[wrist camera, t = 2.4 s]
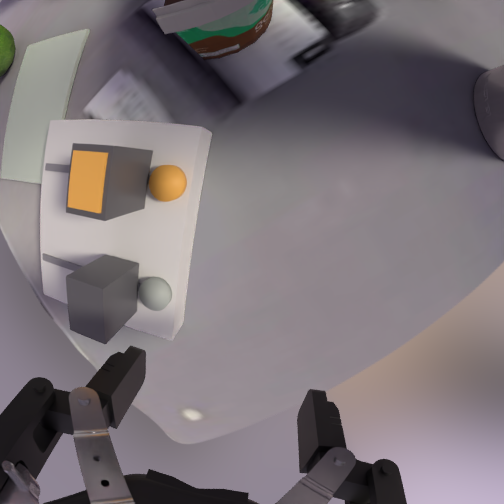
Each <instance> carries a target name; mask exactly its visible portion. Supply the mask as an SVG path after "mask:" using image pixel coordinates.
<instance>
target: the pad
mask: <svg viewBox="0 0 504 504" xmlns="http://www.w3.org/2000/svg"><path fill="white" fill-rule="evenodd" d="M89 32H90V30H89V29H84V30H79V31H75V32H71V33H67V34H63V35H60V36H56V37H53V38H49V39H46V40H43V41H40V42H37V43H34V44H31V45H28V47H27V50H26V52H25V55H24V58H23V61H22V64H21V68H20V71H19V74H18V78H17V81H16V85H15V89H14V93H13V97H12V101H11V106H10V111H9V116H8V121H7V126H6V132H5V139H4V146H3V154H2V164H1V176H0V178H2V179H9V180H16V181H24V182H31V183H37V184H42V175H43V166H44V157H45V149H46V143H47V136H48V130H49V125H50V120H65V115H66V111H67V106H68V102H69V97H70V93H71V89H72V85H73V82H74V78H75V75H76V71H77V68H78V64H79V61H80V58H81V55H82V52H83V49H84V46H85V43H86V40H87V38H88V35H89Z"/></svg>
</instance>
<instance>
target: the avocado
mask: <svg viewBox="0 0 504 504" xmlns="http://www.w3.org/2000/svg"><path fill="white" fill-rule="evenodd" d="M14 53H15V43H14V38H13V36H12V34H11V33H10V32H9V31H8V30H7V29H6V28H5V27H3V26H2V25H0V77H1V76H2V75H4V74H5V72H6V71H7V69H8V68H9V66H10V65H11V63H12V62H13V58H14Z"/></svg>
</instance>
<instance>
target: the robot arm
mask: <svg viewBox="0 0 504 504" xmlns="http://www.w3.org/2000/svg"><path fill="white" fill-rule="evenodd" d="M474 106H475V111H476V116H477V119H478V123H479V126H480V128H481V131H482V133H483V135H484V137H485V139H486V141H487V143H488V144H489V146H490V147H491V148H492V150H493V151H494V152H495V153H496V154H497V155H498V156H499V157H500V158H501V159H503V160H504V65H502V66H500V67H497V68H494V69H492V70H489V71H487V72H485V73H483V74H481V75H480V77H479V78H478V79H477V82H476V84H475V89H474ZM145 374H146V352H145V350H142V349H139V348H136V347H133V346H130V347H129V348H128V349H127V350H126V352H125V353H124V354H123V353H121V352H117V353H115V354H114V355H112V356H110V357H109V358H108V360H107V361H106V362H105V364H103V366H102V367H101V369H99V371H98V372H97V373H96V374H95V376H94V377H93V378H92V379H91V380H90V382H89V383H88V384H87V385H86V387H78V388H75V389H74V390H72V391H71V392H67V391H62V390H57V389H54V388H53V385H52V383H51V382H50V381H49V380H47V379H45V378H41V377H38V378H33V379H31V380H30V381H29V382H28V383H27V384H26V385H25V386H24V387H23V389H22V390H21V391H20V392H19V393H18V394H17V396H16V397H15V398H14V399H13V400H12V401H11V403H10V404H9V405H8V406H7V407H6V409H5V410H4V411H3V412H2V413H1V415H0V504H39V502H38V501H39V495H40V487H39V485H38V483H37V481H36V478H37V476H38V475H39V473H40V471H41V469H42V468H43V466H44V464H45V462H46V460H47V459H48V457H49V455H50V454H51V452H52V450H53V449H54V447H55V445H56V444H57V442H58V440H59V439H60V437H61V435H62V434H63V433H66V434H71V435H73V437H74V442H75V447H76V452H77V456H78V460H79V465H80V468H81V472H82V476H83V480H84V483H85V486H86V490H85V491H82V492H79V493H76V494H73V495H70V496H67V497H63V498H61V499H57V500H54V501H50V502H46V503H44V504H258V503H257V502H254V501H252V500H249V499H248V493H244V492H238V491H232V490H226V489H198V488H195V487H192V486H190V485H188V484H186V483H184V482H182V481H180V480H178V479H176V478H174V477H172V476H169V475H166V474H162V473H159V472H156V471H153V470H150V469H149V470H148V473H147V474H129V475H124V476H123V473H122V471H121V468H120V465H119V463H118V460H117V457H116V454H115V451H114V448H113V445H112V442H111V439H110V435H109V433H108V430H107V429H108V427H109V426H111V427H113V428H116V429H117V427H118V426H119V424H120V422H121V420H122V419H123V417H124V415H125V413H126V412H127V410H128V408H129V407H130V405H131V403H132V401H133V400H134V398H135V396H136V395H137V393H138V391H139V390H140V388H141V386H142V384H143V382H144V379H145ZM297 425H298V444H299V468H300V473H307V475H306V476H305V477H304V478H302V479H301V480H300V481H299V482H298V483H297V484H296V485H295V486H294V487H293V488H292V489H291V490H289V491H288V492H287V493H286V494H285V495H284V496H283V497H282V498H281V499H280V500H279V501H278V502H277V503H275V504H327V503H328V502H329V501H330V499H331V498H332V497H335V498H339V499H342V500H345V504H407V503H406V498H405V494H404V489H403V484H402V480H401V476H400V472H399V468H398V466H397V465H396V464H395V463H394V462H392V461H390V460H387V459H380V460H378V461H376V462H375V463H374V464H369V463H366V462H361V461H359V460H357V459H356V458H355V456H354V455H353V453H352V452H351V451H349V450H347V448H346V443H345V438H344V433H343V428H342V426H341V419H340V414H339V410H338V408H337V407H336V406H335V404H334V403H333V402H328V401H327V397H326V392H325V391H320V390H313V389H310V390H309V391H308V393H307V395H306V397H305V399H304V401H303V403H302V406H301V408H300V410H299V413H298V419H297Z"/></svg>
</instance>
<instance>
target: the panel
mask: <svg viewBox="0 0 504 504" xmlns="http://www.w3.org/2000/svg"><path fill="white" fill-rule="evenodd" d="M211 138H212V132H210V131H209V130H207V129H205V128H203V127H200V126H192V125H183V124H173V123H162V122H148V121H132V120H101V119H77V120H50V125H49V130H48V136H47V143H46V149H45V157H44V166H43V175H42V188H41V206H40V252H41V270H42V282H43V293H44V295H47V296H49V297H51V298H53V299H56V300H58V301H60V302H63V303H65V304H68V302H67V289H66V276H67V275H69V274H71V273H72V272H74V271H76V270H78V269H80V268H81V267H83V266H85V265H87V264H89V263H91V262H92V261H94V260H96V259H98V258H100V257H102V256H104V255H105V254H106V255H110V256H113V257H117V258H121V259H125V260H128V261H132V262H136V263H139V276H138V299H137V312H136V313H135V314H134V315H133V316H132V317H131V318H130V319H129V320H128V321H127V322H126V323H125V324H124V326H126V327H129V328H132V329H135V330H139V331H142V332H145V333H148V334H151V335H154V336H158V337H161V338H164V339H168V340H171V341H172V340H173V339H174V337H175V335H176V334H177V332H178V331H179V329H180V327H181V326H182V324H183V320H184V311H185V302H186V293H187V285H188V277H189V269H190V262H191V254H192V247H193V241H194V234H195V227H196V221H197V215H198V208H199V202H200V196H201V191H202V185H203V179H204V174H205V168H206V163H207V158H208V153H209V148H210V143H211ZM73 143H80V144H98V145H111V146H121V147H130V148H138V149H145V150H153V154H152V160H151V166H150V172H149V179H148V185H147V192H146V200H145V208H144V209H142V210H138V211H135V212H132V213H129V214H126V215H122V216H119V217H116V218H113V219H110V220H107V221H102V220H98V219H93V218H88V217H84V216H79V215H75V214H70V213H66V199H67V186H68V176H69V167H70V159H71V152H72V145H73Z"/></svg>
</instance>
